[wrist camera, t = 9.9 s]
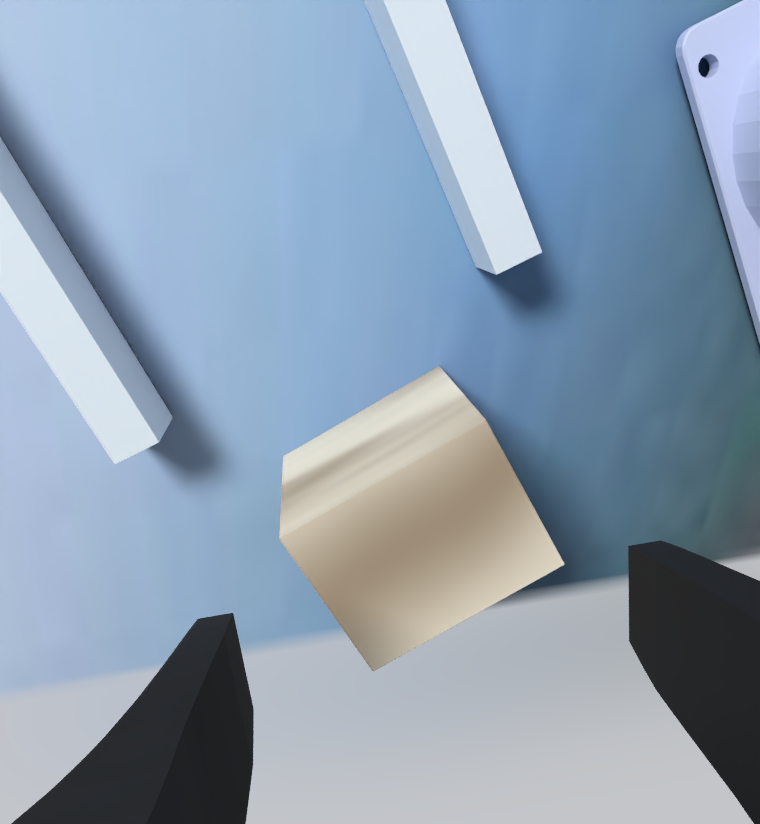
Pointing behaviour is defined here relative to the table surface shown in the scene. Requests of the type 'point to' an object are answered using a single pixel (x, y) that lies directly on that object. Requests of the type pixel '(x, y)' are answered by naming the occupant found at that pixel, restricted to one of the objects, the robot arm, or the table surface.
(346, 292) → the table surface
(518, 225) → the trap channel
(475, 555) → the pale gold metal block
